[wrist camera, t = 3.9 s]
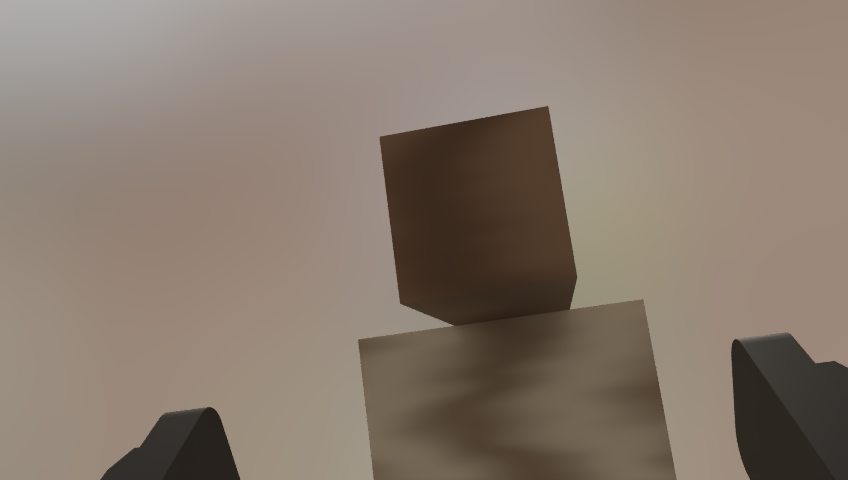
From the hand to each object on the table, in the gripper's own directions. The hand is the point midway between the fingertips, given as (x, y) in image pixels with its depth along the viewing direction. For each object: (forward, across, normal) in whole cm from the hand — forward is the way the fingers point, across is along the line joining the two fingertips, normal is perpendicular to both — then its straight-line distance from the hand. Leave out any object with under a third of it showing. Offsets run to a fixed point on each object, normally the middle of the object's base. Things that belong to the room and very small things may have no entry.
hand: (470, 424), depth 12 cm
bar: (+17, -1, +7) cm, 18 cm away
